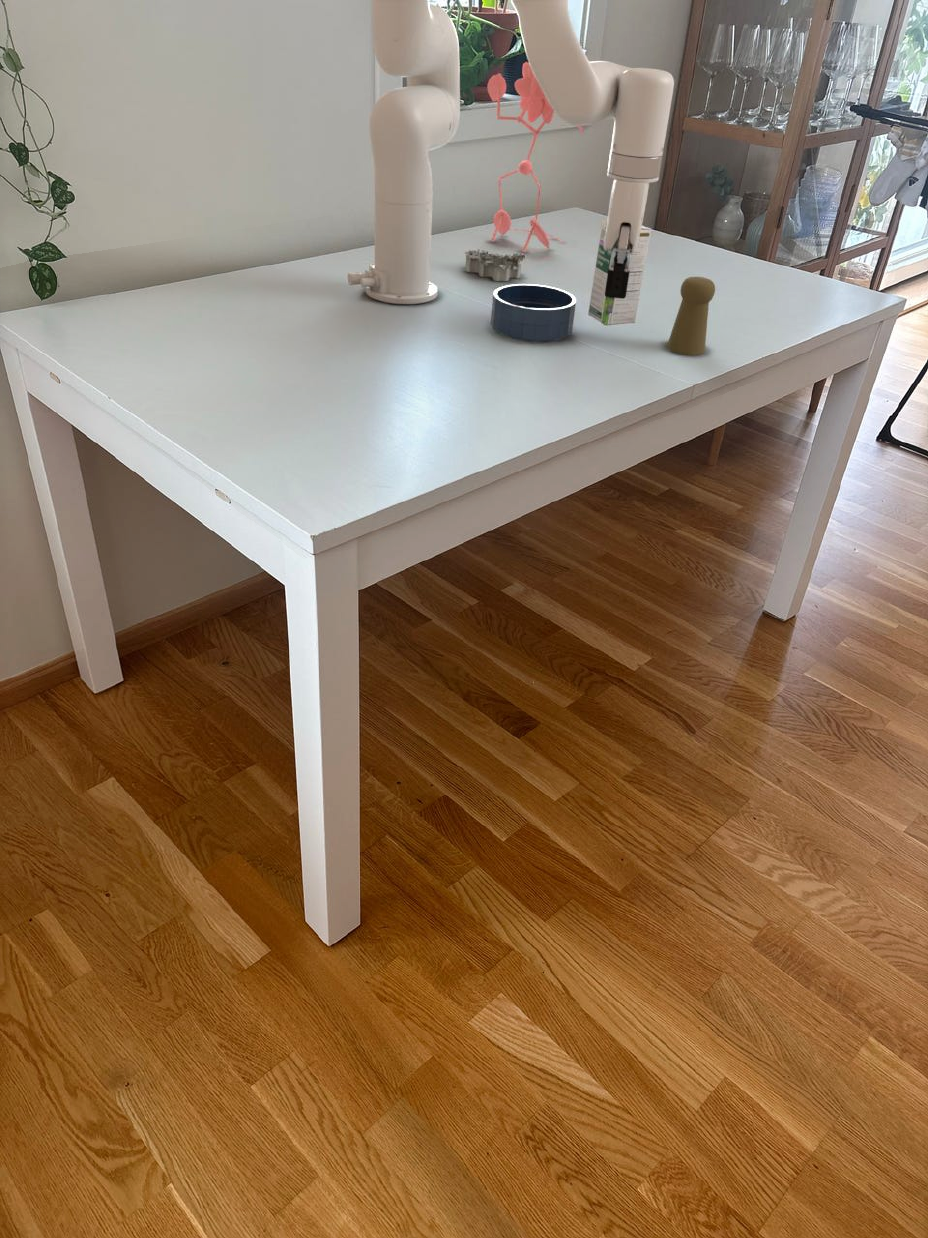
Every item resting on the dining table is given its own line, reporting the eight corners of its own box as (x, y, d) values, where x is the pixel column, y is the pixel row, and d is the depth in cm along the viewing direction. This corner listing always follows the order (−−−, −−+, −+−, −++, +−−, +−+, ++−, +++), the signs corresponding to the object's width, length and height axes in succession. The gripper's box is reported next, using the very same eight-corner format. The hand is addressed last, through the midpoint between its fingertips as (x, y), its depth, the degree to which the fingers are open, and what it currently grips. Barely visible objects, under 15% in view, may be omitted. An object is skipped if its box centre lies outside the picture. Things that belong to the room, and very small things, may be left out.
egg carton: (526, 277, 177) (528, 255, 175) (498, 283, 173) (500, 260, 170) (485, 263, 183) (487, 241, 181) (458, 269, 179) (459, 246, 176)
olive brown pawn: (704, 357, 147) (720, 286, 141) (666, 352, 148) (680, 281, 142) (704, 344, 152) (719, 275, 146) (667, 339, 153) (680, 270, 146)
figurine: (551, 262, 186) (574, 59, 166) (461, 233, 201) (471, 43, 180) (599, 251, 196) (626, 57, 175) (509, 224, 210) (525, 42, 189)
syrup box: (586, 314, 150) (599, 219, 142) (618, 312, 152) (632, 217, 144) (604, 326, 146) (619, 228, 138) (636, 323, 148) (653, 227, 140)
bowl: (516, 348, 145) (520, 313, 142) (476, 321, 154) (478, 287, 151) (587, 339, 151) (592, 305, 147) (544, 314, 160) (548, 281, 157)
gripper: (610, 154, 144) (594, 271, 154) (606, 175, 130) (588, 302, 140) (659, 158, 143) (640, 276, 153) (660, 180, 129) (639, 308, 139)
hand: (615, 288), depth 147 cm, fingers closed on syrup box, 7 cm apart
